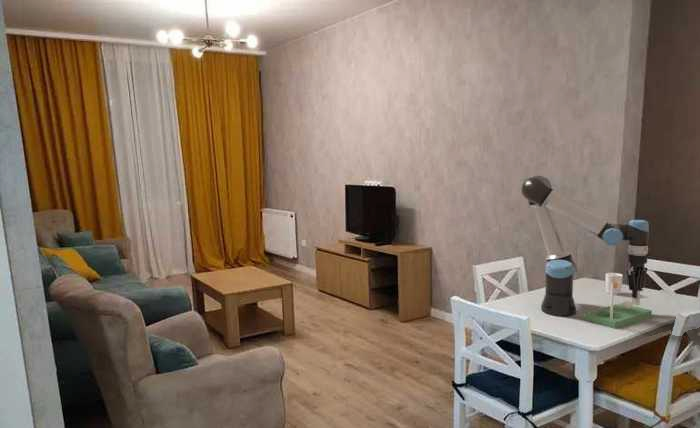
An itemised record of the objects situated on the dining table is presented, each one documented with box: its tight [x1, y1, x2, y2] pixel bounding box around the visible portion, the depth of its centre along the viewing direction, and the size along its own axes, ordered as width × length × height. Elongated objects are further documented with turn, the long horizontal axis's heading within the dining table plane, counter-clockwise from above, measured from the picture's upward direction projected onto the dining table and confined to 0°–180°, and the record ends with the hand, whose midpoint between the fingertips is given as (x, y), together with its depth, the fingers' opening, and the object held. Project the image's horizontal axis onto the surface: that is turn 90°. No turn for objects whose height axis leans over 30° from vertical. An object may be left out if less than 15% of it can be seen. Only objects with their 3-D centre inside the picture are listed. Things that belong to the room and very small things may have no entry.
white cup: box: [605, 272, 624, 296], centre depth 248 cm, size 8×8×10 cm
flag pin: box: [609, 282, 617, 321], centre depth 200 cm, size 4×1×16 cm, turn 120°
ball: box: [621, 300, 633, 310], centre depth 213 cm, size 4×4×4 cm
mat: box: [583, 302, 653, 329], centre depth 210 cm, size 28×14×2 cm, turn 120°
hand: (635, 304), depth 217 cm, fingers closed
